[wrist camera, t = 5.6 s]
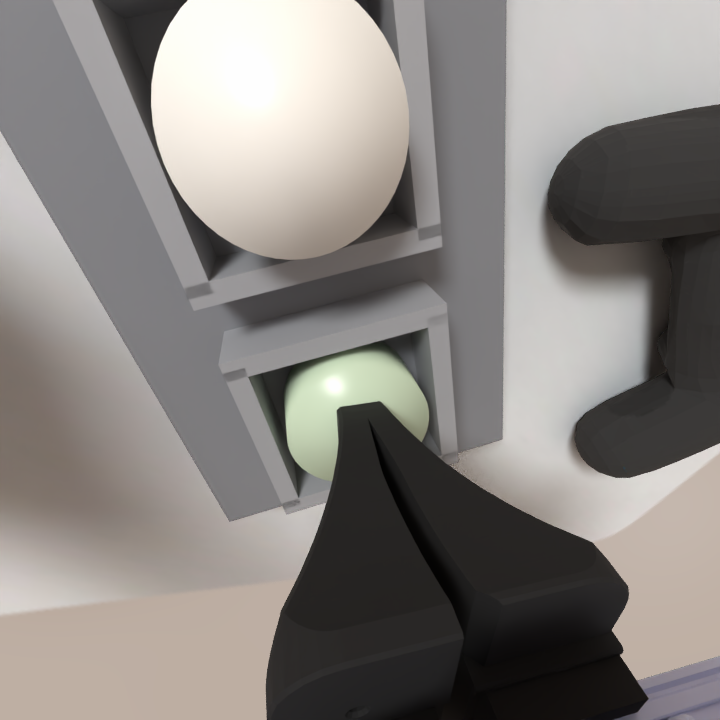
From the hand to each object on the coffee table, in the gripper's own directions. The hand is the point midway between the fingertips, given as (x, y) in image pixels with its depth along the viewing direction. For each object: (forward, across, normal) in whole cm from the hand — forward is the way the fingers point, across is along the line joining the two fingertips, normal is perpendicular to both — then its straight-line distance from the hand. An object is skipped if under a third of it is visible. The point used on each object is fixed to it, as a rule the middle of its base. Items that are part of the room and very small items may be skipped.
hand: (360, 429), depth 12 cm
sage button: (+2, 0, 0) cm, 2 cm away
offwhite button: (+1, +1, -8) cm, 8 cm away
